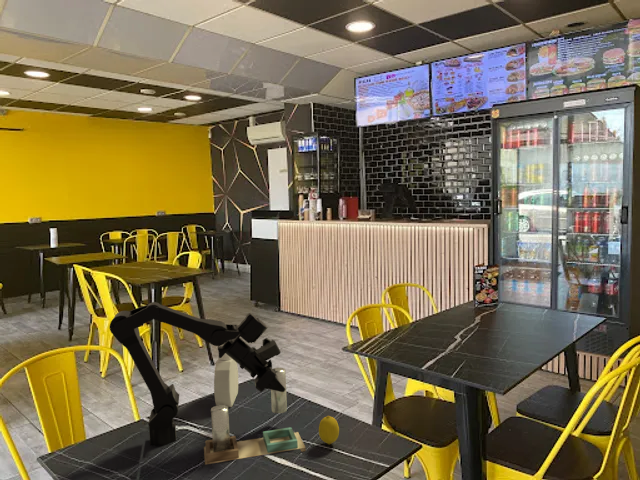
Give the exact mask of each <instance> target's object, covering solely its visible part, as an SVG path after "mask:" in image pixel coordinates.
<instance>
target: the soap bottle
mask: <svg viewBox="0 0 640 480" xmlns="http://www.w3.org/2000/svg"><path fill="white" fill-rule="evenodd" d="M224 344H225V343H224ZM224 344H223V345H224ZM223 345H221V346H223ZM213 389H214V390H213V392H214V393H213V394H214V402H215V406H217V405H226V406H228V408H232V407H233V405H234V403H235V401H236V397H237V396H238V393H239V368H238V363H237V362H236V361H234V360H233V359H232V358H231V357H229V356H228V355H227V354H226V353H225V354H224V355H223V356H222V358H219V357H218V359H217V361H216V362H215V366H214V377H213Z"/></svg>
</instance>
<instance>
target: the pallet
mask: <svg viewBox="0 0 640 480" xmlns="http://www.w3.org/2000/svg"><path fill="white" fill-rule="evenodd" d="M306 449H307V448H306V445H305V444H304V441H303V439H302V438H301V435H300V434H299V431H296V432H295V431H294V430H293V428H292V426H291V427H290V426H289V427H283V428H279V429H277V428H276V429H273V430H272V429H271V430H265V431H262V437H259V438H252V439H246V440H239V441H237V438H236V435H234V436H230V450H225V451H219V452H213V438H212V439H207V440H205V446H203V452H204V453H203V455H204V456H203V457H204V465H211V464H216V463H217V464H218V463H222V462H223V463H224V462H228V461H233V460H241V459H246V458H253V457H257V456H264V455H265V456H266V455H270V454H277V453H283V452H288V451H295V450H300V452H301V453H304V452H306Z"/></svg>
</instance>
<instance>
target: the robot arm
mask: <svg viewBox="0 0 640 480" xmlns="http://www.w3.org/2000/svg"><path fill="white" fill-rule="evenodd" d="M153 320H156V321H158V322H161V323H163V324H166V325H168V326H173V327H175V328H178V329H181V330H183V331H187V332H190V333H192V334H193V335H196V336H198V338H200V339H202V340H203V341H205V342H207V343H208V344H210V345H212V346H215V347H217V350H218V351H217V352H218V359H219V358H222V356H223V355H224V354H225V353H226V354H227V355H228V356H229V357H231V358H232V359H233V360H234V361H236V362H237V365H239V368H240V369H241V370H245V371H246V372H247V373H249V374H250V377H251V378H252V379H254V386H255V389H256V390H258V391H259V392H260V393H262V392H264V391H265V389H266V390H270V391H271V390H275V391H280V392H284V391H285V390H286V391H287V388H286V389H285V388H284V386H283V385H282V384H281V383H280V382H279V380H278V379H277V378H276V372H275V369H273V362H272V360H271V359H272V358H274V357H275V356H276V357H277V356H279V355H280V354H281V350H280V348H279V346H278V344H277V342H276V340H274V339H269V338H268V337H266V338H263V339H262V341H261V342H262V345H260V347H259V348H256V347H255V346H250V345H249V344H253V343H256V342H257V341H258V339H259V338H260V337H261V336H262V335H263V333H265V332H266V330H267V329H268V328H269V327H268V326H267V325H266V324H265V323H264V322H263V321H262V320H261V319H260V318H259V317H257V316H255V315H254V314H252V313H251V312H248V313H247V315H245V317H244V319H243V320H242V321H241V322H240V323H239V324H229V323H225V322H223V321H221V320H217V319H211V318H201V317H200V318H199V317H196V316H194V315H192V314H187V313H185V312H182V311H179V310H178V309H174V308H171V307H168V306H166V305H163V304H160V303H159V302H157V301H153V302H150V303H149V304H146V305H143V306H140V307H137V308H134V309H131V310H121V311H119V312H117V313H116V314H115V316H114V317H113V318H112V320H111V321H110V323H109V331H110V333H111V334H112V336H113V337H114V338H115V339H116V340H117V341H118V342H119V344H120V345H122V346H123V347H124V348H125V349H127V352H128V354H129V356H130V358H132V361H133V363H134V364H135V366H136V368H137V370H138V372H139V373H140V376H141V377H142V380H143V382H144V383H145V385H146V387H147V389H148V391H149V392H150V396H151V397H150V398H151V400H152V405H153V408H152V409H151V411H150V414H149V415H150V416H149V419H148V423H147V424H148V433H149V434H148V436H149V446H155V447H162V446H165V445H169V444H171V443H173V442H176V441H177V428H176V423H174V419H175V418H176V416H177V415H178V412H179V405H180V404H179V403H180V393H178V392H177V390H176V388H175V385H174V383H171V384H170V385H168V384H167V383H166V382H164V379H163V378H162V376H161V374H160V372H159V370H158V368H157V367H156V365H155V363H154V361H153V359H152V357H151V355H150V354H149V351H148V349H147V348H146V346H145V343H144V342H143V341H142V339H141V333H140V329H139V327H141V326H144V325H145V324H146V323H148V322H151V321H153ZM224 343H225V344H224ZM223 344H224V345H223ZM222 345H223V346H222Z"/></svg>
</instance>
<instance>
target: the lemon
mask: <svg viewBox="0 0 640 480" xmlns="http://www.w3.org/2000/svg"><path fill="white" fill-rule="evenodd" d="M339 434H340V427H339V424H338V421H337V419H336V418H334V417H333V416H330V415H327V416H325V417H322V419H321V420H320V422H319V425H318V435H319V438H320V440H321V441H323V442H324V443H325V444H327V445H331V444H333V443H335V442H337V440H338V439H339Z"/></svg>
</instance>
